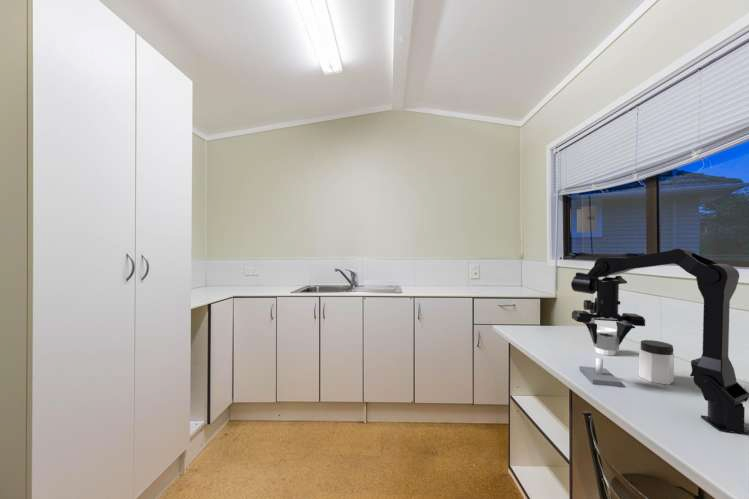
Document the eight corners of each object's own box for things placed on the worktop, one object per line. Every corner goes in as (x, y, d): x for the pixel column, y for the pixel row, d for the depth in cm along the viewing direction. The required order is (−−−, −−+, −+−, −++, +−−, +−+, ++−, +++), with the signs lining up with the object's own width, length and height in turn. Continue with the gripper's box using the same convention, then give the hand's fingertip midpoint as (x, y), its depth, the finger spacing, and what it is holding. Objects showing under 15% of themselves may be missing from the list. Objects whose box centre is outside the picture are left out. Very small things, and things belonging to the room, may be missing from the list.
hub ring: (621, 351, 100) (622, 338, 100) (599, 349, 101) (599, 337, 101) (612, 345, 106) (612, 333, 106) (591, 343, 108) (591, 331, 107)
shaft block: (621, 387, 101) (621, 366, 101) (592, 384, 103) (592, 364, 103) (605, 372, 112) (605, 354, 112) (579, 370, 115) (579, 352, 114)
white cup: (615, 352, 135) (616, 328, 134) (618, 357, 128) (618, 332, 128) (593, 349, 139) (593, 326, 139) (594, 354, 132) (594, 329, 132)
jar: (668, 387, 101) (668, 349, 101) (636, 378, 108) (636, 342, 108) (677, 380, 106) (677, 344, 106) (645, 372, 113) (646, 338, 113)
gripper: (628, 293, 109) (626, 339, 109) (566, 291, 113) (565, 335, 114) (647, 299, 98) (645, 350, 98) (578, 296, 103) (577, 344, 103)
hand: (606, 344), depth 104 cm, fingers closed on hub ring, 6 cm apart
